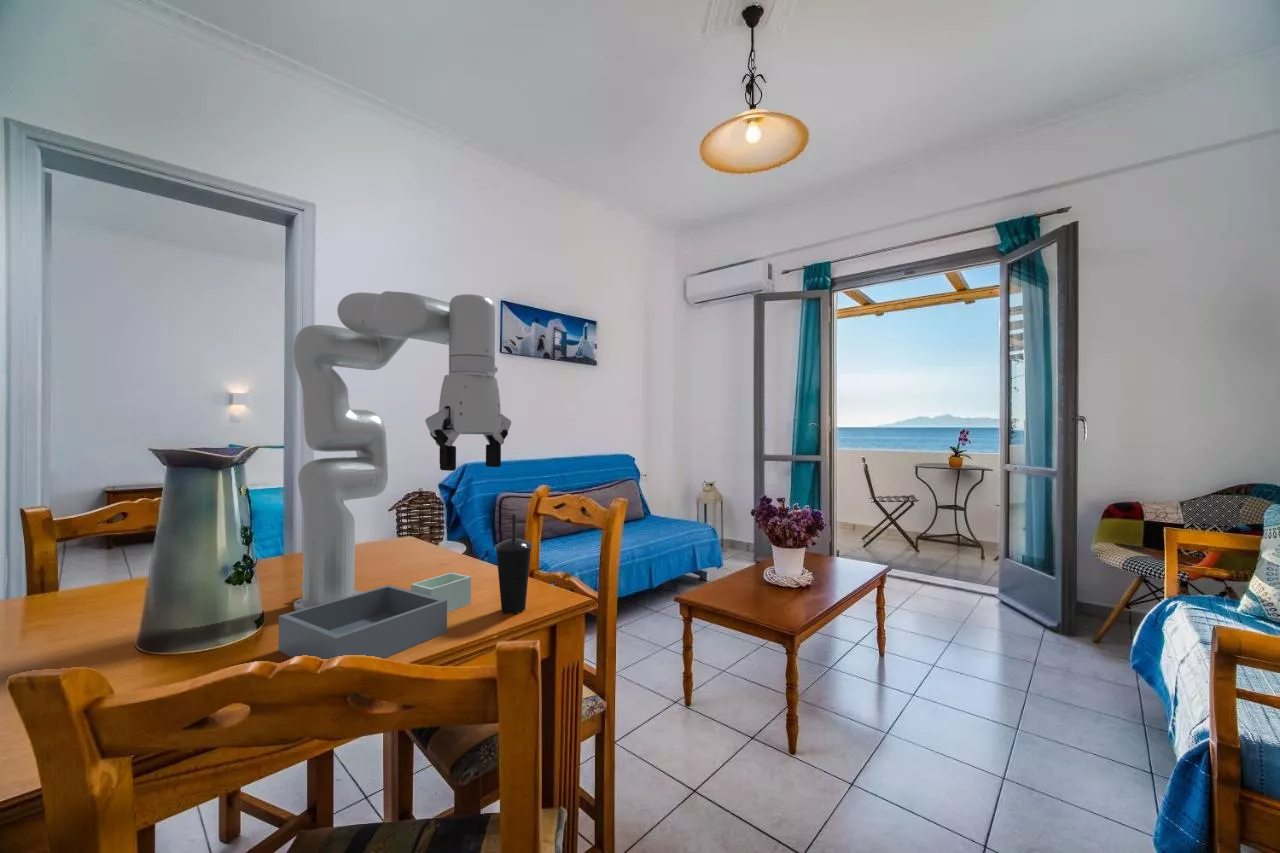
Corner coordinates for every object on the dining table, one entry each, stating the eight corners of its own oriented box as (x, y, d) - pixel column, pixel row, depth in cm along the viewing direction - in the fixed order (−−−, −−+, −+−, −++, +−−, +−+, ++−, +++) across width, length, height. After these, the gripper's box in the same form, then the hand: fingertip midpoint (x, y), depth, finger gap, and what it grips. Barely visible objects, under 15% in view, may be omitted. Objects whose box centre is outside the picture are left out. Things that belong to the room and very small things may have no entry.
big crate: (278, 651, 85) (278, 615, 85) (389, 614, 102) (389, 584, 102) (335, 677, 76) (336, 638, 76) (446, 632, 93) (447, 600, 93)
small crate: (410, 613, 103) (410, 584, 103) (451, 599, 112) (451, 572, 112) (430, 619, 100) (431, 589, 100) (470, 604, 109) (471, 576, 109)
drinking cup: (517, 601, 110) (517, 510, 110) (539, 609, 105) (539, 514, 106) (487, 610, 104) (487, 515, 104) (509, 619, 99) (509, 519, 100)
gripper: (494, 375, 95) (494, 464, 95) (413, 364, 80) (412, 471, 80) (524, 372, 91) (523, 466, 91) (443, 361, 76) (443, 473, 76)
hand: (471, 468), depth 86 cm, fingers open, 9 cm apart
